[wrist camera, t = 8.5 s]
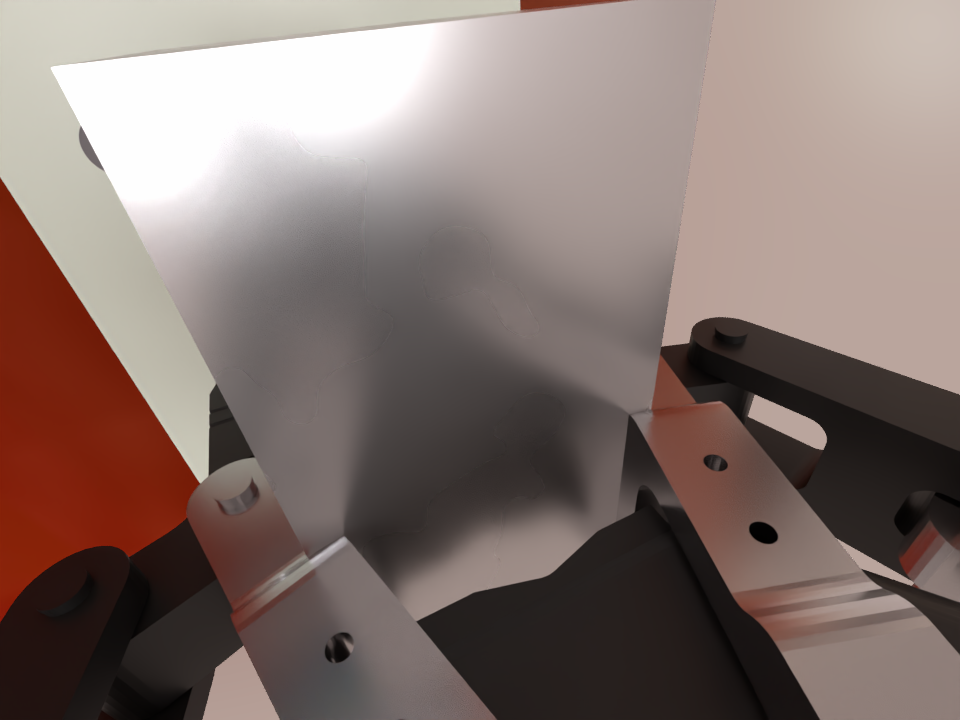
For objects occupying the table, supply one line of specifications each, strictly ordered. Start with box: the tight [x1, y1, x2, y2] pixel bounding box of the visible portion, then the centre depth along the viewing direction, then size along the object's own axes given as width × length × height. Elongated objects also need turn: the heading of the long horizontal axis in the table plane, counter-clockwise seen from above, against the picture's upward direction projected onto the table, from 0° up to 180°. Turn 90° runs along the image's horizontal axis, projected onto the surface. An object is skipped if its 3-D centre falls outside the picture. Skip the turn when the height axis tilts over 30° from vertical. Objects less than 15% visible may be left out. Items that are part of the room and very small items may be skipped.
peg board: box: [0, 0, 520, 483], centre depth 15 cm, size 22×14×4 cm, turn 6°
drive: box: [51, 0, 716, 621], centre depth 9 cm, size 12×5×7 cm, turn 6°
